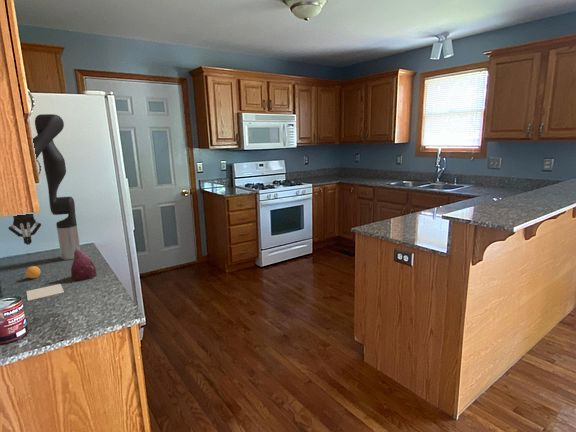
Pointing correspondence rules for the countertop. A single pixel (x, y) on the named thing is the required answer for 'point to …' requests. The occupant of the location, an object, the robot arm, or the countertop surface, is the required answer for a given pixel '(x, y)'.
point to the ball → (33, 272)
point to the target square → (44, 292)
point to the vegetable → (82, 267)
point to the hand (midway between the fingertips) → (28, 244)
